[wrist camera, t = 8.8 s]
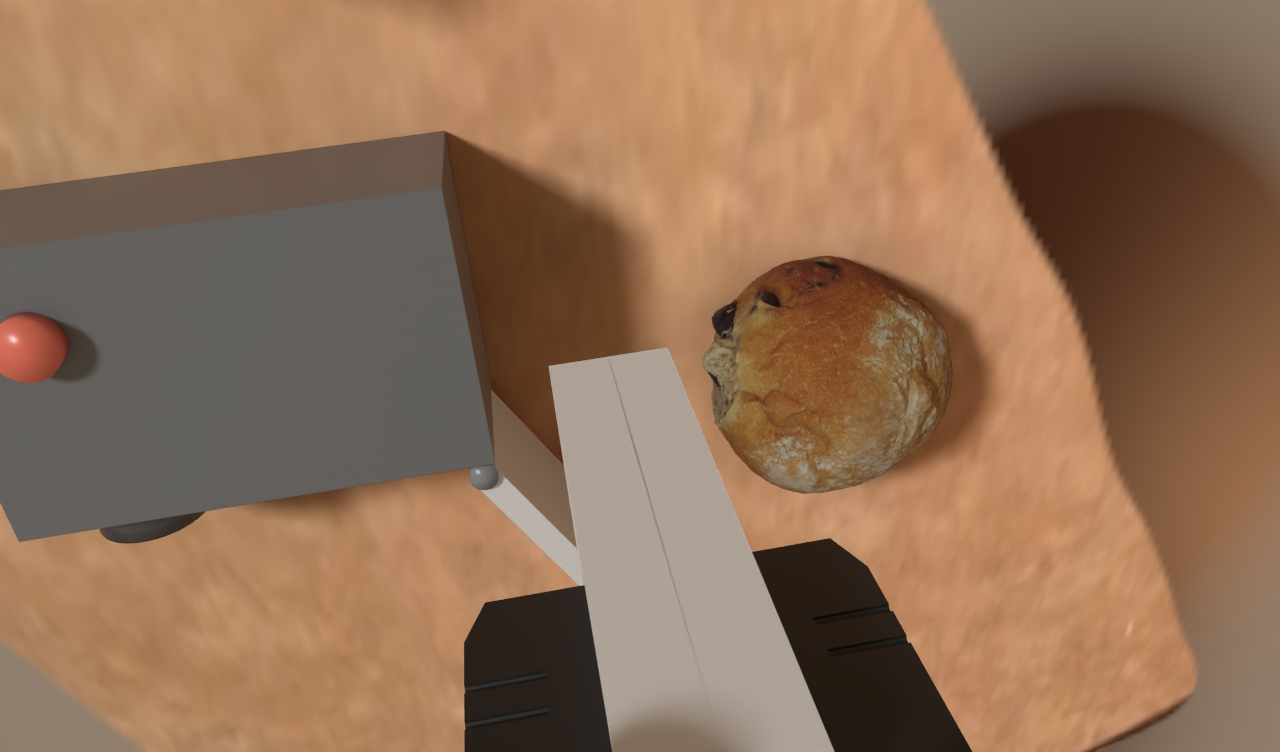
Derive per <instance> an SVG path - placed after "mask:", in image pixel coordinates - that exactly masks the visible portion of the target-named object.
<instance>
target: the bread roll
mask: <svg viewBox="0 0 1280 752" xmlns="http://www.w3.org/2000/svg"><path fill="white" fill-rule="evenodd" d="M712 323H713V327H714V329H715V331H716V334H715V337H714V343H712V344H711V346H710V350H707V351H706V353H705V355H704V357H703V359H702V360H703V367H704V369H705V370H706V371H708V374H709V375H710V376H711V378H712V379H713V387H714V388H713V391H712V403H713V412H714V417H715V424H716V425H717V426H718V427H719V430H720V431H721V432H722V434H723V435H724V437H725V438H726V440H727V441H728V442H729V444H730V445H731V447H732V449H733V450H734V452H735V453H736V454H737V456H738V457H739V458H740V459H741V460H742V461H743V462H744V463H745V464H746V465H747V466H748V467H749V468H750V469H751V470H752V471H753V472H754V473H756V474H757V475H759V476H760V477H762V478H763V479H765V480H766V481H768V482H770V483H771V484H773V485H776V486H778V487H780V488H782V489H786V490H789V491H793V492H798V493H804V494H805V493H823V492H829V491H834V490H839V489H843V488H848V487H852V486H856V485H859V484H862V483H864V482H867V481H870V480H871V479H873V478H875V477H877V476H879V475H881V474H883V473H884V472H886V471H887V470H889V469H890V468H892V467H893V466H894V465H895V464H897V463H898V462H899V461H900V460H901V459H902V458H904V457H907V456H908V455H910V454H911V453H913V452H914V451H915V450H917V449H918V448H920V447H921V446H922V445H923V444H924V443H925V442H926V441H927V439H928V438H929V437H930V436H931V435H932V434H933V432H934V431H935V429H936V428H937V426H938V425H939V423H940V421H941V419H942V417H943V415H944V414H945V410H946V407H947V405H948V399H949V395H950V391H951V385H952V361H951V348H950V345H949V342H948V338H947V335H946V332H945V329H944V327H943V325H942V323H940V322H939V321H938V320H937V318H936V317H935V316H934V315H933V313H932V312H931V311H930V310H929V309H928V308H927V307H926V306H925V305H924V304H923V303H922V302H920V301H918V300H917V299H916V298H914V297H913V296H912V295H911V294H909V293H908V292H907V291H906V290H904V289H902V288H899V287H896V286H895V285H894V284H893V283H891V282H890V281H888V279H887V278H885V277H884V276H883V275H880V274H877V273H875V272H872V271H870V270H869V269H867V268H865V267H863V266H861V265H857V264H855V263H854V262H852V261H849V260H846V259H843V258H836V257H832V256H820V257H814V258H809V259H804V260H796V261H791V262H787V263H783V264H781V265H779V266H777V267H775V268H773V269H771V270H770V271H768V272H767V273H765V274H763V275H762V276H760V277H758V278H757V279H756V280H755V281H753V282H752V283H751V284H750V285H749V286H748V287H747V288H746V289H745V290H744V291H743V292H742V293H741V294H740V295H739V296H738V298H737V299H735V300H734V301H733V302H732V303H731V304H729V305H726V306H724V307H722V308H720V309H719V310H717V311H716V312H715V313H714V316H713V317H712ZM745 392H746V393H745Z"/></svg>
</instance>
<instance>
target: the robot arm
mask: <svg viewBox="0 0 1280 752" xmlns="http://www.w3.org/2000/svg"><path fill="white" fill-rule="evenodd" d="M548 367H549V373H550V380H551V386H552V392H553V399H554V405H555V412H556V418H557V424H558V431H559V437H560V444H561V450H562V456H563V463H564V469H565V476H566V482H567V488H568V495H569V501H570V508H571V514H572V520H573V527H574V533H575V540H576V546H577V552H578V558H579V564H580V570H581V576H582V582H583V585H582V586H577V587H571V588H565V589H560V590H554V591H549V592H543V593H537V594H532V595H526V596H520V597H515V598H509V599H503V600H498V601H492V602H487V603H485V604H484V606H483V608H482V610H481V612H480V613H479V615H478V617H477V619H476V621H475V623H474V625H473V627H472V629H471V631H470V633H469V635H468V636H467V638H466V640H465V642H464V686H465V694H464V709H465V727H466V730H465V752H972V750H971V749H970V747H969V745H968V743H967V742H966V740H965V738H964V736H963V735H962V733H961V731H960V729H959V727H958V726H957V724H956V722H955V720H954V719H953V717H952V715H951V713H950V712H949V710H948V708H947V706H946V704H945V703H944V701H943V699H942V697H941V696H940V694H939V692H938V690H937V689H936V687H935V685H934V683H933V681H932V680H931V678H930V676H929V674H928V673H927V671H926V669H925V667H924V666H923V664H922V662H921V660H920V658H919V657H918V655H917V653H916V651H915V650H914V648H913V646H912V644H911V643H908V642H907V638H906V634H905V632H904V630H903V628H902V627H901V625H900V623H899V621H898V619H897V618H896V616H895V614H894V612H893V611H890V609H889V604H888V602H887V600H886V598H885V596H884V595H883V593H882V591H881V589H880V588H879V586H878V584H877V582H876V581H875V579H874V577H873V575H872V573H871V572H870V570H869V568H868V566H866V565H865V564H864V563H862V562H861V561H860V560H858V559H857V558H856V557H854V556H853V555H852V554H850V553H849V552H848V551H846V550H845V549H844V548H842V547H841V546H840V545H838V544H837V543H836V542H834V541H833V540H832V539H830V538H829V539H823V540H818V541H812V542H806V543H801V544H795V545H790V546H784V547H778V548H773V549H767V550H761V551H756V552H752V551H751V548H750V546H749V543H748V541H747V539H746V536H745V534H744V531H743V529H742V527H741V524H740V522H739V519H738V517H737V514H736V512H735V510H734V507H733V505H732V502H731V500H730V497H729V495H728V493H727V490H726V488H725V485H724V483H723V480H722V478H721V476H720V473H719V471H718V468H717V466H716V464H715V461H714V459H713V456H712V454H711V451H710V449H709V447H708V444H707V442H706V439H705V437H704V434H703V432H702V430H701V427H700V425H699V422H698V420H697V417H696V415H695V413H694V410H693V408H692V405H691V403H690V400H689V398H688V396H687V393H686V391H685V388H684V386H683V384H682V381H681V379H680V376H679V374H678V371H677V369H676V367H675V364H674V362H673V359H672V357H671V354H670V352H669V350H668V347H667V348H660V349H654V350H647V351H641V352H635V353H628V354H622V355H615V356H609V357H603V358H596V359H590V360H584V361H577V362H571V363H564V364H558V365H552V366H548Z"/></svg>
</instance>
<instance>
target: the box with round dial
mask: <svg viewBox="0 0 1280 752" xmlns="http://www.w3.org/2000/svg"><path fill="white" fill-rule="evenodd" d="M489 464H495V453H494V435H493V417H492V399H491V381H490V370H489V364H488V359H487V354H486V348H485V343H484V338H483V332H482V327H481V322H480V316H479V311H478V306H477V301H476V295H475V290H474V285H473V279H472V274H471V269H470V263H469V258H468V253H467V247H466V242H465V237H464V231H463V226H462V221H461V215H460V210H459V205H458V199H457V194H456V189H455V183H454V178H453V173H452V168H451V162H450V157H449V152H448V146H447V141H446V136H445V131H442V132H434V133H427V134H419V135H412V136H404V137H397V138H389V139H382V140H375V141H367V142H360V143H352V144H345V145H337V146H330V147H322V148H315V149H307V150H300V151H292V152H285V153H277V154H270V155H263V156H255V157H248V158H240V159H233V160H225V161H218V162H210V163H203V164H195V165H188V166H180V167H173V168H166V169H158V170H151V171H143V172H136V173H128V174H121V175H113V176H106V177H98V178H91V179H83V180H76V181H69V182H61V183H54V184H46V185H39V186H31V187H24V188H16V189H9V190H1V191H0V503H1V505H2V507H3V509H4V511H5V513H6V515H7V517H8V520H9V522H10V524H11V526H12V528H13V530H14V532H15V534H16V536H17V538H18V540H19V542H21V541H27V540H34V539H40V538H46V537H52V536H58V535H64V534H70V533H76V532H82V531H88V530H94V529H100V532H101V534H102V535H103V536H104V537H105V538H106V539H108V540H110V541H113V542H117V543H140V542H146V541H151V540H154V539H158V538H161V537H164V536H167V535H169V534H172V533H174V532H176V531H179V530H181V529H182V528H184V527H186V526H188V525H189V524H191V523H192V522H194V521H195V520H197V519H198V518H199V517H200V516H201V515H202V514H204V513H205V511H209V510H216V509H222V508H228V507H234V506H240V505H246V504H252V503H258V502H264V501H270V500H276V499H282V498H288V497H294V496H300V495H307V494H313V493H319V492H325V491H331V490H337V489H343V488H349V487H355V486H361V485H367V484H373V483H379V482H385V481H391V480H398V479H404V478H410V477H416V476H422V475H428V474H434V473H440V472H446V471H452V470H458V469H464V468H470V467H476V466H482V465H489Z"/></svg>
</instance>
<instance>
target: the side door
mask: <svg viewBox="0 0 1280 752" xmlns="http://www.w3.org/2000/svg"><path fill="white" fill-rule="evenodd" d="M491 399H492V417H493V435H494V453H495V464H489V465H482V466H476V467H470V481H471V484H472V485H473V486H474V487H475V488H477V489H479V490H481V491H482V492H483V493H484V494H485V495H486V496H487V497H488V498H489V499H490V500H491V501H492V502H493V503H494V504H495V505H496V506H497V507H499V508H500V509H501V510H502V511H503V512H504V513H505V514H506V515H507V516H508V517H509V518H510V519H511V520H512V521H513V522H514V523H515V524H516V525H517V526H518V527H519V528H520V529H521V530H522V531H523V532H524V533H525V534H526V535H527V536H528V537H530V538H531V539H532V540H533V541H534V542H535V543H536V544H537V545H538V546H539V547H540V548H541V549H542V550H543V551H544V552H545V553H546V554H547V555H548V556H549V557H550V558H551V559H552V560H553V561H554V562H555V563H556V564H557V565H558V566H559V567H561V568H562V569H563V570H564V571H565V572H566V573H567V574H568V575H569V576H570V577H571V578H572V579H573V580H574V581H575V582H576V583H577V584H578V585H579V586H582V585H583V582H582V576H581V570H580V564H579V558H578V552H577V546H576V540H575V533H574V527H573V520H572V514H571V508H570V501H569V495H568V488H567V482H566V476H565V469H564V465H563V464H562V463H561V462H560V461H559V460H558V459H557V458H556V457H555V456H554V454H553V453H552V452H551V451H550V450H549V449H548V448H547V447H546V446H545V445H544V444H543V443H542V442H541V441H540V440H539V439H538V438H537V437H536V436H535V435H534V434H533V433H532V431H531V430H530V429H529V428H528V427H527V426H526V425H525V424H524V423H523V422H522V421H521V420H520V419H519V418H518V417H517V416H516V415H515V414H514V413H513V412H512V411H511V410H510V408H509V407H508V406H507V405H506V404H505V403H504V402H503V401H502V400H501V399H500V398H499V397H498V396H497V395H496V394H495V393H494V392H493V389H492V388H491Z"/></svg>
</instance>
